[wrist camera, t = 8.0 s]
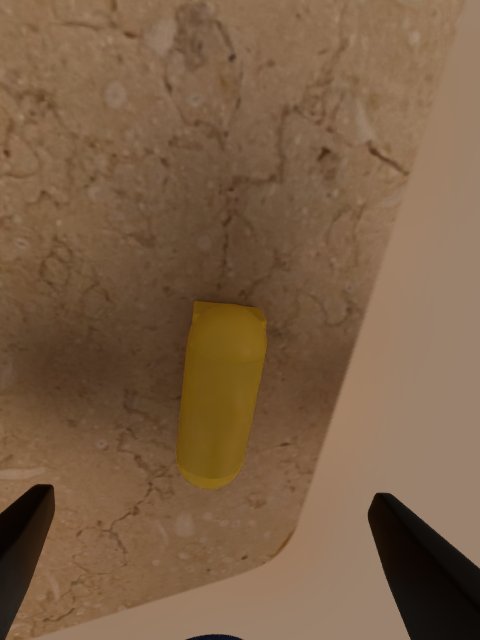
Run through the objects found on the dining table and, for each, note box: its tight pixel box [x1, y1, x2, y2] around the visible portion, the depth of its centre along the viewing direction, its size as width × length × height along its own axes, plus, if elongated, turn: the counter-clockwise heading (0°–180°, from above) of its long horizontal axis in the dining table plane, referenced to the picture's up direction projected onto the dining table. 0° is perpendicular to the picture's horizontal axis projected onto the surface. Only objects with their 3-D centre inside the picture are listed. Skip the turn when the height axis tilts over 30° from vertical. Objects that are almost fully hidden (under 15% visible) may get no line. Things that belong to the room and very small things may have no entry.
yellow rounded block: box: [176, 301, 267, 489], centre depth 13 cm, size 8×3×3 cm, turn 171°
